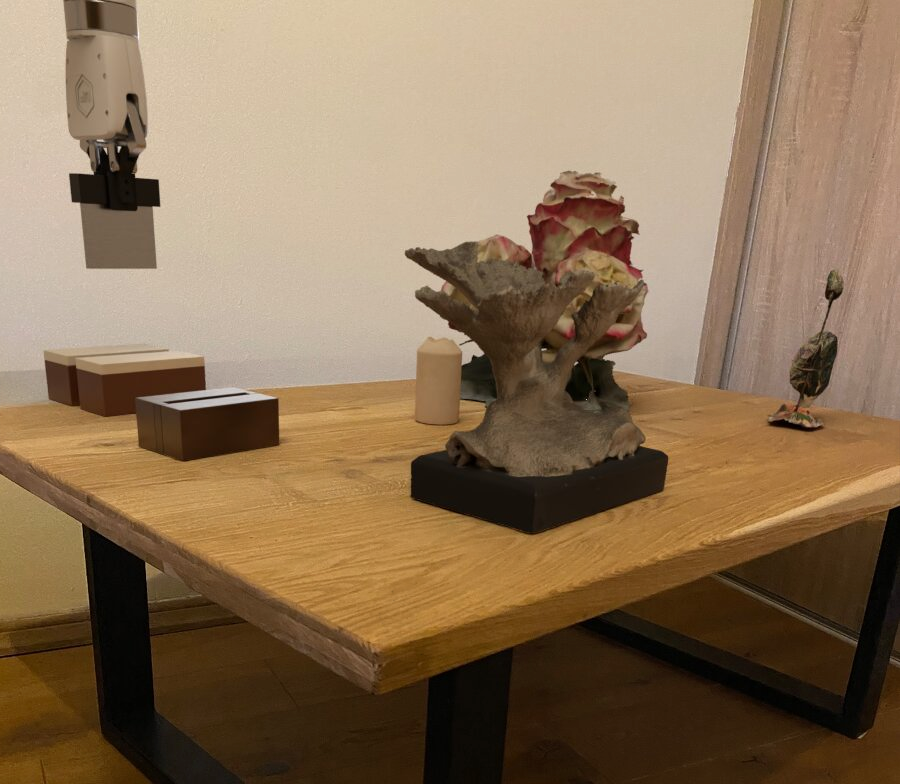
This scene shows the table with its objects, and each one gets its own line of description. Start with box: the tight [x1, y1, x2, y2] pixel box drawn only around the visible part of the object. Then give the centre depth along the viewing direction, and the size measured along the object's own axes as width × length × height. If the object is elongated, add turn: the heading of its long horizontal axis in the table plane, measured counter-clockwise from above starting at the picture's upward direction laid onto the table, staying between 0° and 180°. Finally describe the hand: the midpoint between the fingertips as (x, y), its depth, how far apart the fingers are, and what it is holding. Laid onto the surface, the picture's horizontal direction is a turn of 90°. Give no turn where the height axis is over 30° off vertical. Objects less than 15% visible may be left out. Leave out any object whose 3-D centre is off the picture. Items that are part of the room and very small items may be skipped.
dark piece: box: [68, 172, 162, 270], centre depth 108 cm, size 10×2×10 cm, turn 138°
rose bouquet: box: [440, 170, 650, 414], centre depth 126 cm, size 26×29×30 cm
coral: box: [404, 240, 669, 534], centre depth 83 cm, size 25×20×22 cm
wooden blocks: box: [42, 343, 207, 418], centre depth 116 cm, size 14×14×6 cm
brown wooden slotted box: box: [135, 386, 280, 462], centre depth 96 cm, size 12×8×5 cm, turn 139°
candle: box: [414, 336, 463, 426], centre depth 114 cm, size 6×6×10 cm
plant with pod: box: [766, 268, 845, 429], centre depth 122 cm, size 8×11×20 cm
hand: (117, 208), depth 108 cm, fingers closed on dark piece, 2 cm apart
